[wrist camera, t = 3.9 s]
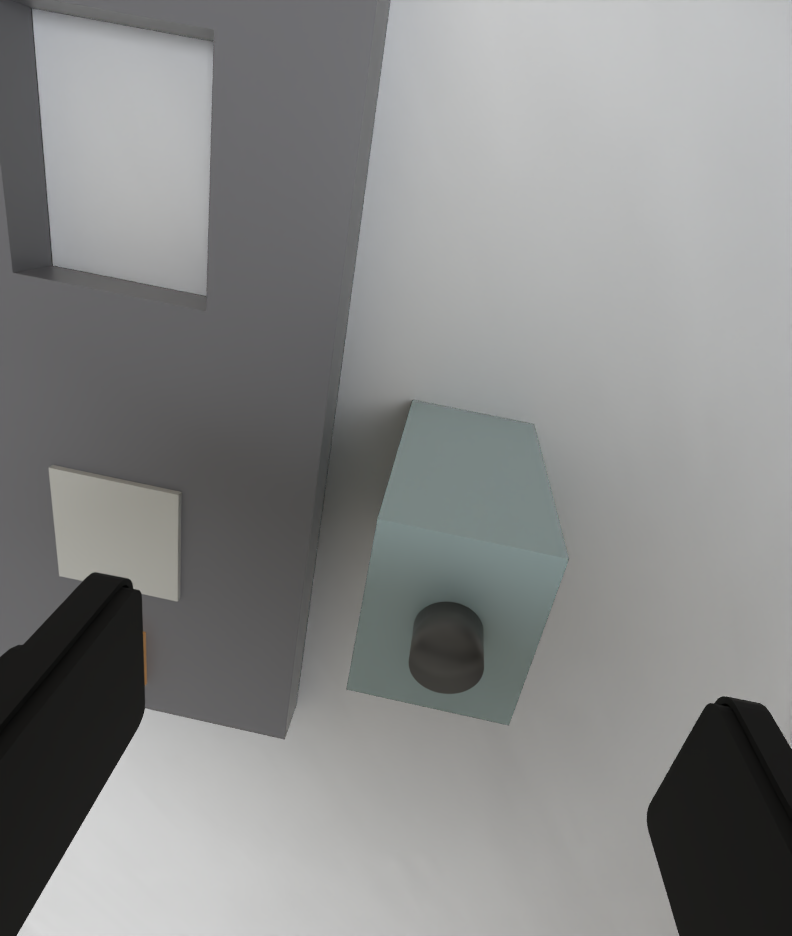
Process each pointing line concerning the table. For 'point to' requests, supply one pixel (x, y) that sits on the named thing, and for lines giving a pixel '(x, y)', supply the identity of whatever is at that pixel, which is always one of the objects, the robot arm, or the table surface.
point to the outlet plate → (191, 360)
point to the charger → (459, 566)
